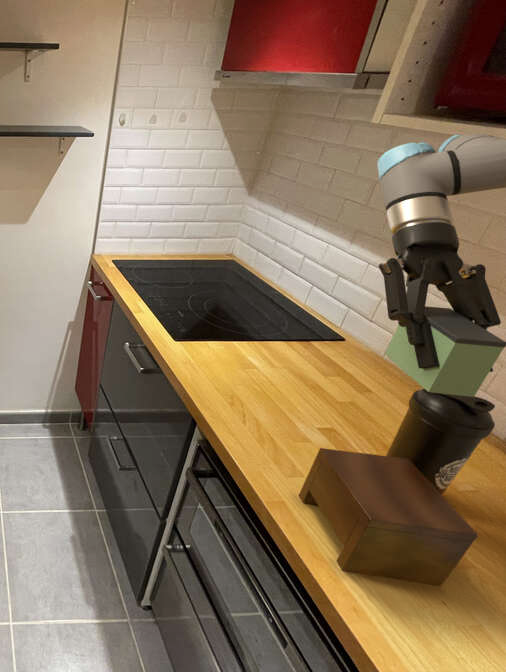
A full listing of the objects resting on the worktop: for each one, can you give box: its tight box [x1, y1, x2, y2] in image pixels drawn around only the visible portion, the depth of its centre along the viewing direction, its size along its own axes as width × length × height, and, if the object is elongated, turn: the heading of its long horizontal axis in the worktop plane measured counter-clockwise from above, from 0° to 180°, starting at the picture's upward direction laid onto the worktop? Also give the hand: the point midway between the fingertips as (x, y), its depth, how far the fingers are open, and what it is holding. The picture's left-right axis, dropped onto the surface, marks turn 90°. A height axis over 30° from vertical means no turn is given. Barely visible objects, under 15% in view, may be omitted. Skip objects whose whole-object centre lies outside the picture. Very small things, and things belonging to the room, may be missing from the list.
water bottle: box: [385, 388, 496, 496], centre depth 80 cm, size 10×10×23 cm
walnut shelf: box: [298, 447, 479, 587], centre depth 74 cm, size 14×14×12 cm
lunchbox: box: [384, 305, 506, 397], centre depth 69 cm, size 6×10×10 cm, turn 170°
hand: (454, 369), depth 66 cm, fingers closed on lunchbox, 6 cm apart
